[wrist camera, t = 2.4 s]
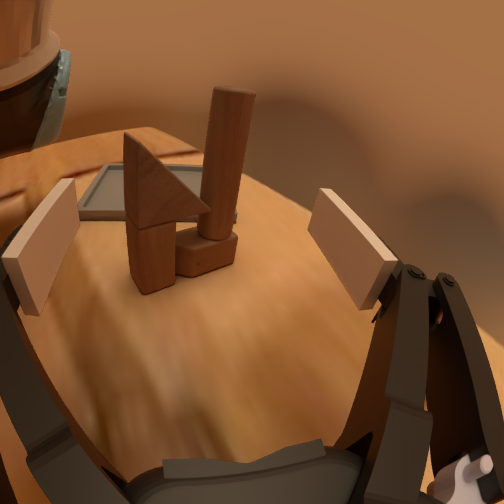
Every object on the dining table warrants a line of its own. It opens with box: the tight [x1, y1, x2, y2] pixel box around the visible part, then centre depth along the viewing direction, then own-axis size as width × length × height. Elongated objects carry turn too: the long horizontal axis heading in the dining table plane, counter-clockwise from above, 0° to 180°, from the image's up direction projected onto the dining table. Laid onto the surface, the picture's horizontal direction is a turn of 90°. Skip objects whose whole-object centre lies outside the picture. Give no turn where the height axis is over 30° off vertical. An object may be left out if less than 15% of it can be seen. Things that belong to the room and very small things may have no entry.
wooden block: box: [123, 86, 256, 294], centre depth 24 cm, size 4×11×18 cm, turn 130°
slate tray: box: [77, 163, 237, 223], centre depth 42 cm, size 22×18×2 cm
